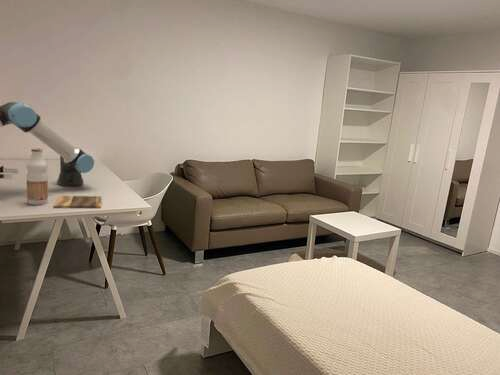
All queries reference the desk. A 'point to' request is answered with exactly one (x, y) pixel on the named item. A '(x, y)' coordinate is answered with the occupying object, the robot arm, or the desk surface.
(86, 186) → the desk surface
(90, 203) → the floor panel
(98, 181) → the desk surface
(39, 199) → the fruit juice
